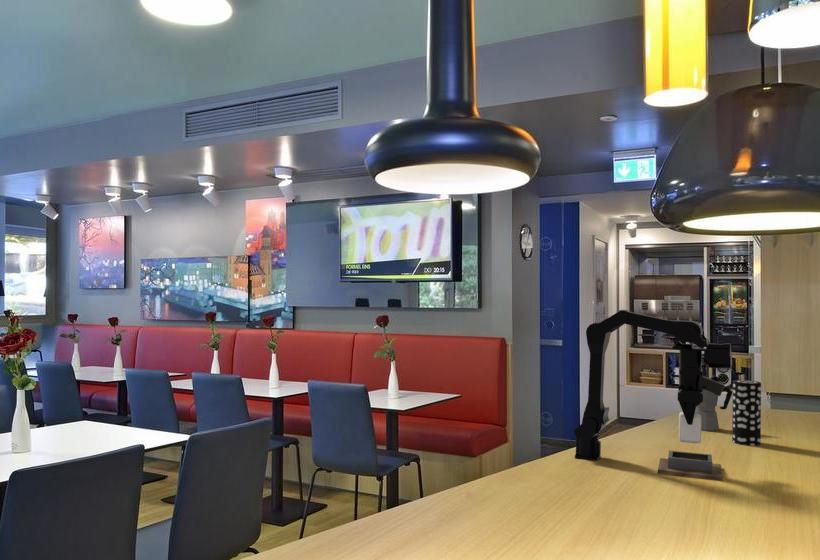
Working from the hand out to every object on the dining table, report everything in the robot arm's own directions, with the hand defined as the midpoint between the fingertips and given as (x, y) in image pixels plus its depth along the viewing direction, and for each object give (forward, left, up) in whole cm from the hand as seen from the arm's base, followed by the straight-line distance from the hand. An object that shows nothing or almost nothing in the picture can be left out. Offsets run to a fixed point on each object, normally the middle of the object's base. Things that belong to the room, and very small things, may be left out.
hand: (689, 423), depth 185 cm
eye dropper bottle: (0, 0, -5) cm, 5 cm away
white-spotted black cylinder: (+17, +46, -13) cm, 51 cm away
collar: (0, 0, -13) cm, 13 cm away
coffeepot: (+6, +65, -13) cm, 67 cm away
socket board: (0, 0, -13) cm, 13 cm away
